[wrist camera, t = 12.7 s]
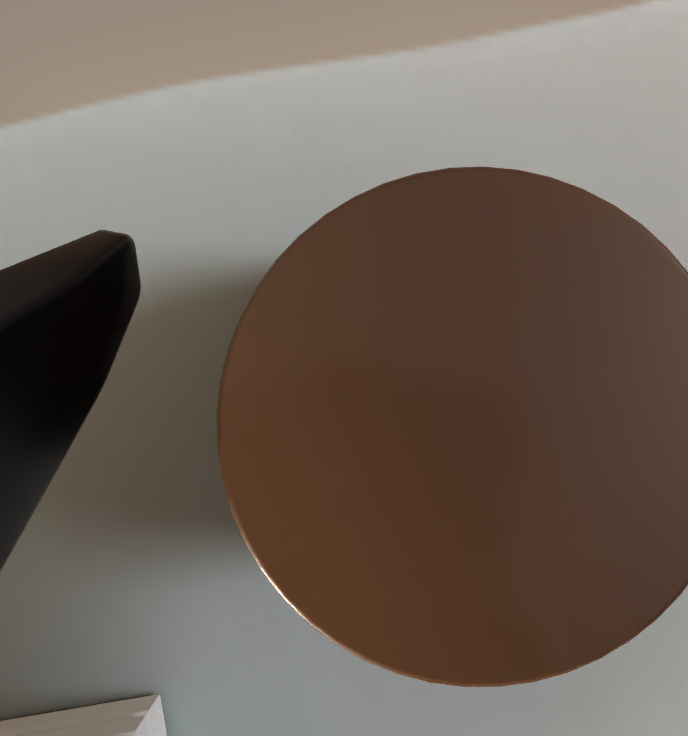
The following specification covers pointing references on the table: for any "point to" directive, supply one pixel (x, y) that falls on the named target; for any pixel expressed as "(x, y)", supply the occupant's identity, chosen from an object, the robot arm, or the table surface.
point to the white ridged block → (94, 720)
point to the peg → (465, 426)
